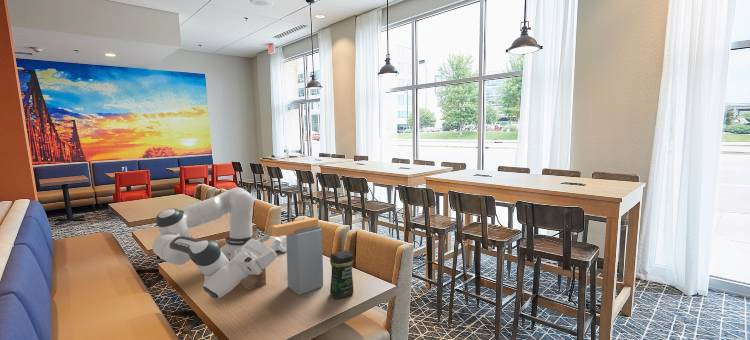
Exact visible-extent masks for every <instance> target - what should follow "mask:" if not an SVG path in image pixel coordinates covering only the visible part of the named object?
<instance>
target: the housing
mask: <svg viewBox="0 0 750 340" xmlns="http://www.w3.org/2000/svg"><path fill="white" fill-rule="evenodd" d="M285 236H286V242H287V251H286V270H287V271H286V272H287V287H288V288H289V290H292V291H293V292H295V293H296V294H297V295H302V294H305V293H309V292H311V291H313V290H316V289H318V288H322V287H324V256H323V254H324V252H323V251H324V250H323V228H321V226H320V225H318V226H317V227H312V228H308V229H303V230H298V231H295V233H294V234H289V235H285Z"/></svg>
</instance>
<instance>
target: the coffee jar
mask: <svg viewBox="0 0 750 340" xmlns="http://www.w3.org/2000/svg"><path fill="white" fill-rule="evenodd" d="M329 260H330V261H329V262H330V265H331V274H330V275H331V278H330V286H329V288H330V289H329V294H330V295H331V296H332V297H333V298H336V299H342V298H346V297H348V296H352V295H353V294H354V290H355V289H354V281H353V279H354V278H353V263H354V253H353V252H352V251H350V250H348V249H345V250H342V251H338V252H337V251H336V252H333V253H331V254H330V259H329Z"/></svg>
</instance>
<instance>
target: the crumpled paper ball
mask: <svg viewBox="0 0 750 340" xmlns="http://www.w3.org/2000/svg"><path fill="white" fill-rule="evenodd" d="M276 240H279V241H280V242H281V244H280V245H279V246H278V247H277V249H276V251H275V252H278V251H280V252H281V253H287V242H286V235H285V236H280V237H275V236H273V239H272V242H271V245H270V246H273V244H274V242H275V241H276Z"/></svg>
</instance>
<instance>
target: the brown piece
mask: <svg viewBox="0 0 750 340" xmlns="http://www.w3.org/2000/svg"><path fill="white" fill-rule="evenodd" d="M238 252H239V251H238ZM261 270H262V272H261V273H260V274H259V275H255V274H252V275H250V274H249V275H248V276H247V277H245V278H244V279H242V280H241V281H240V282H239V283H240V284H241V285H242V286H243V287H245V288H246V289H247V290H248V291H250V290H253V289H256V288H258V287H259V288H260V287H261V286H265V285H267V275H266V274H267V273H266V268H264V269H261Z"/></svg>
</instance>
